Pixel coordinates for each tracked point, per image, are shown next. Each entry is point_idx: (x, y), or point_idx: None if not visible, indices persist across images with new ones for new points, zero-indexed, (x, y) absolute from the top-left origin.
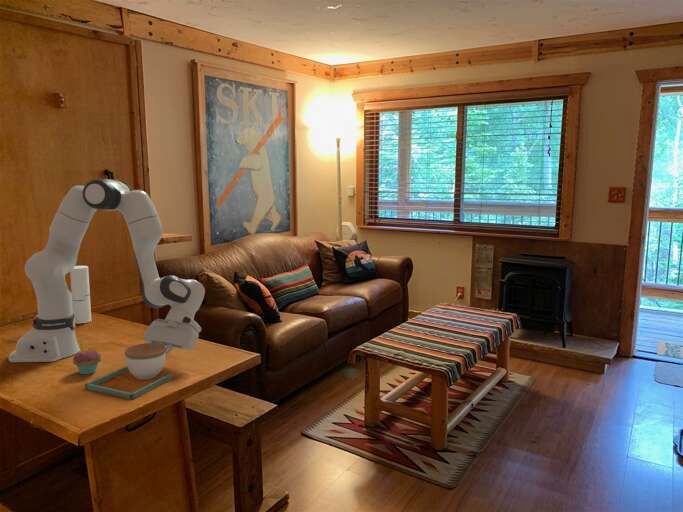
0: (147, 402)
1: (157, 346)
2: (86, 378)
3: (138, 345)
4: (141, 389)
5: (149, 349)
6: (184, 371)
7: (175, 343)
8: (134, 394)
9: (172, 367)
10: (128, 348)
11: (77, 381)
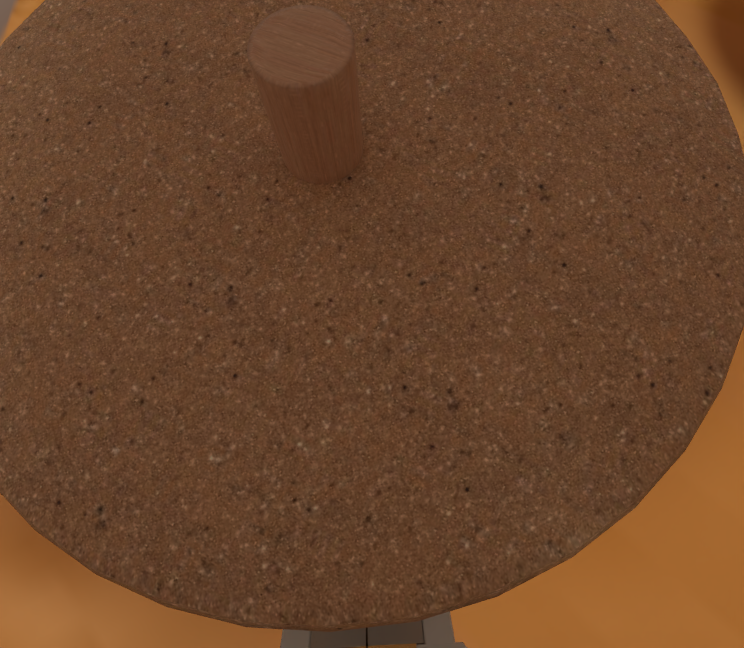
0: (15, 17)
1: (172, 380)
2: (734, 60)
3: (640, 211)
4: None
5: (201, 148)
6: (74, 608)
7: None
8: None
9: (277, 643)
10: (646, 20)
11: (727, 4)
